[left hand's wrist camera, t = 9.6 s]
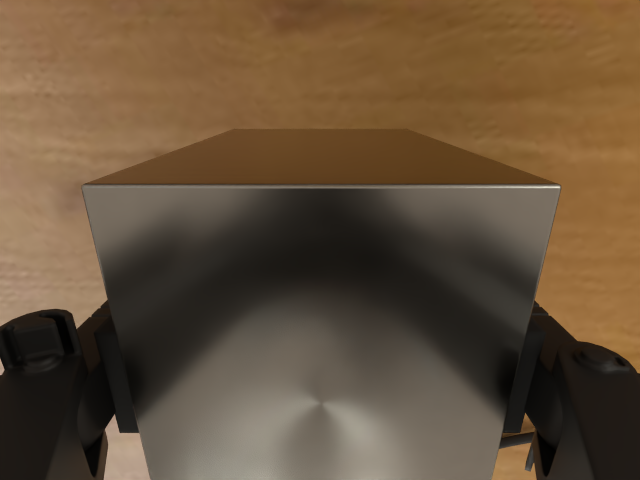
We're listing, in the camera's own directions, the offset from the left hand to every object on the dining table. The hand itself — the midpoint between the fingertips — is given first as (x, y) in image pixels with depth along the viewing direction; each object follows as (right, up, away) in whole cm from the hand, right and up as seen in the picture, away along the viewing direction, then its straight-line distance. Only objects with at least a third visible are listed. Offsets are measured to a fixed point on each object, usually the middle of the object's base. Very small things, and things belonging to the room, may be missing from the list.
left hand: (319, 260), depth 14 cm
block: (0, +1, +4) cm, 4 cm away
